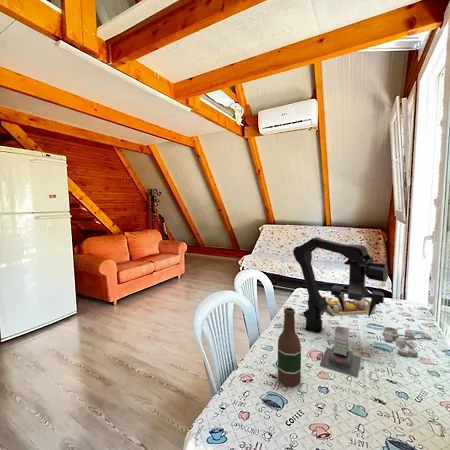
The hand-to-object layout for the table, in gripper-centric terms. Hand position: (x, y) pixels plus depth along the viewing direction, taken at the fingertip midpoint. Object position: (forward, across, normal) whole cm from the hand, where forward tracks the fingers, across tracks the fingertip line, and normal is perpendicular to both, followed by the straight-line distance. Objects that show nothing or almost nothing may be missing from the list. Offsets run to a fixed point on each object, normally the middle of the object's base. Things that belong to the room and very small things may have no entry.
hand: (356, 314), depth 106 cm
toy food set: (+14, -10, +39) cm, 42 cm away
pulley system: (+14, +17, +14) cm, 26 cm away
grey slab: (+9, -3, -16) cm, 19 cm away
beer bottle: (+13, -16, -35) cm, 41 cm away
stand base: (+13, -3, -16) cm, 21 cm away
